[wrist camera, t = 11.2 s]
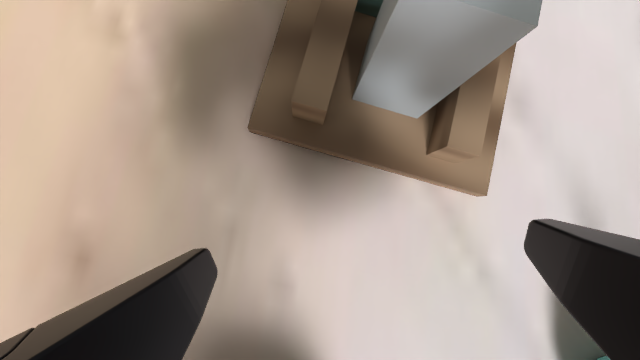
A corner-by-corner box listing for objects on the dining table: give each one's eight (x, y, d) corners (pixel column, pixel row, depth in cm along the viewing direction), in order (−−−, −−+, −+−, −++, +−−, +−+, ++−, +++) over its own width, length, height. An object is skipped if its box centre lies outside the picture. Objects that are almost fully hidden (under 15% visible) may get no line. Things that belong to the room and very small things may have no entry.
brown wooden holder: (476, 196, 18) (517, 193, 15) (250, 132, 18) (238, 113, 14) (507, 40, 20) (551, 4, 16) (299, -25, 19) (299, -77, 16)
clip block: (417, 118, 18) (537, 26, 9) (351, 99, 17) (405, -16, 8) (431, 57, 18) (559, -90, 9) (368, 37, 18) (436, -132, 9)
